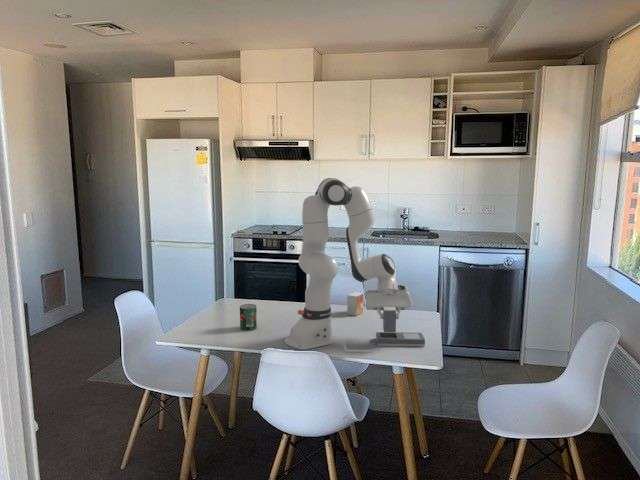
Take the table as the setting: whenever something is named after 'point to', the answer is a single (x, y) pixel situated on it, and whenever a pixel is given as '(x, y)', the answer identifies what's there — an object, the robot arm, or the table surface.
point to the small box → (355, 304)
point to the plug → (389, 319)
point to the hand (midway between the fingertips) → (389, 318)
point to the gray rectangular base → (399, 339)
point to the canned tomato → (248, 317)
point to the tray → (383, 330)
